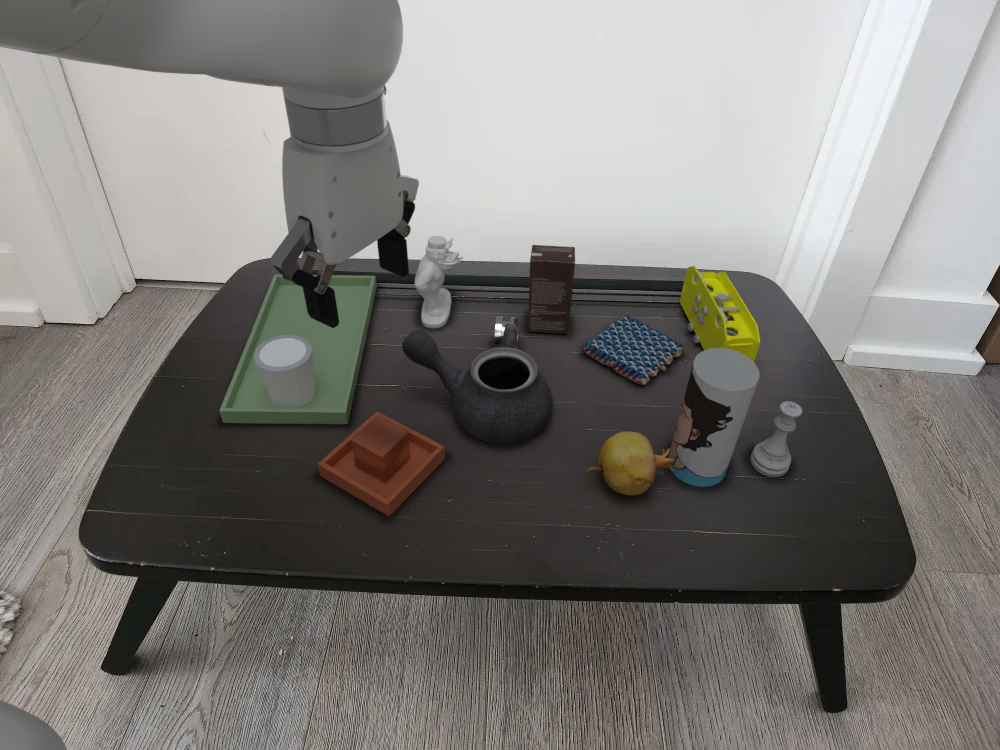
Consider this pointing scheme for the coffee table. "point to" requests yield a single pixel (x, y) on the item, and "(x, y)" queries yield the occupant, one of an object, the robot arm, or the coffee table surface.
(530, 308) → the box
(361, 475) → the terracotta tray
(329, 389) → the sage tray
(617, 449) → the fruit
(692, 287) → the yellow toy chassis
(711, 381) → the grey printed cylindrical canister
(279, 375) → the grey tapered cup
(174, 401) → the coffee table surface
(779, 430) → the chess piece
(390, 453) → the block
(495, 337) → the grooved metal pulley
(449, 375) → the teapot
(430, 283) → the figurine
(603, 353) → the woven mat
